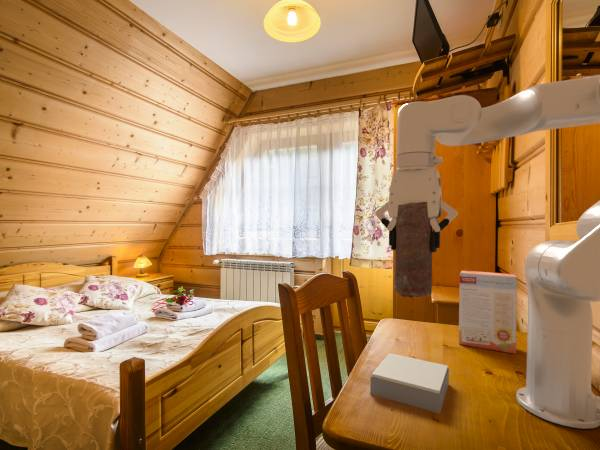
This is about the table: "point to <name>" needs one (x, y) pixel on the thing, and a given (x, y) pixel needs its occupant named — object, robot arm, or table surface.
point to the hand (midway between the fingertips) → (413, 249)
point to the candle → (413, 251)
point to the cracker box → (488, 310)
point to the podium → (411, 382)
